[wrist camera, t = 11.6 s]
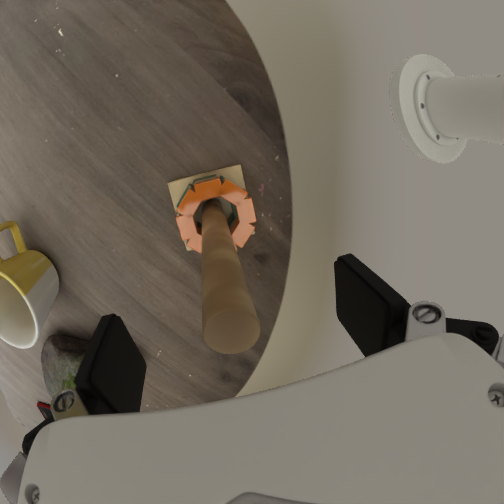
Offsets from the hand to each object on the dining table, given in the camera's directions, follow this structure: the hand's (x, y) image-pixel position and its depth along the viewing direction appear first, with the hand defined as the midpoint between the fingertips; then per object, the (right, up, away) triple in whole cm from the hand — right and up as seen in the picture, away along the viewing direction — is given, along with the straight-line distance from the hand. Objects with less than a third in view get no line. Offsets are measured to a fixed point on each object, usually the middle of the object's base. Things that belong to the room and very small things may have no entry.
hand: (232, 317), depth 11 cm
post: (-4, +8, +19) cm, 21 cm away
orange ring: (-3, +6, +16) cm, 18 cm away
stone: (-24, -15, +25) cm, 38 cm away
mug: (-28, +1, +18) cm, 33 cm away
